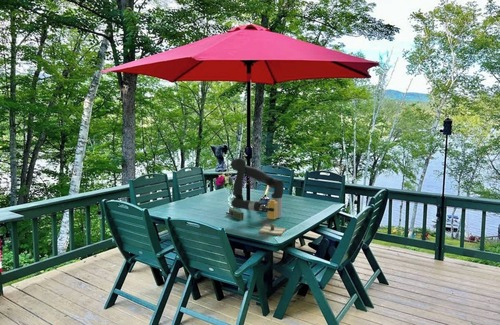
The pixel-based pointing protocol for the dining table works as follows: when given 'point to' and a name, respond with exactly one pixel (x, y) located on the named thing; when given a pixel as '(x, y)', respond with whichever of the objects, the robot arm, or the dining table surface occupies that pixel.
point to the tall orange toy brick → (274, 205)
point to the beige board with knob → (272, 230)
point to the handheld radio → (235, 214)
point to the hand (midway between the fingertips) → (275, 209)
